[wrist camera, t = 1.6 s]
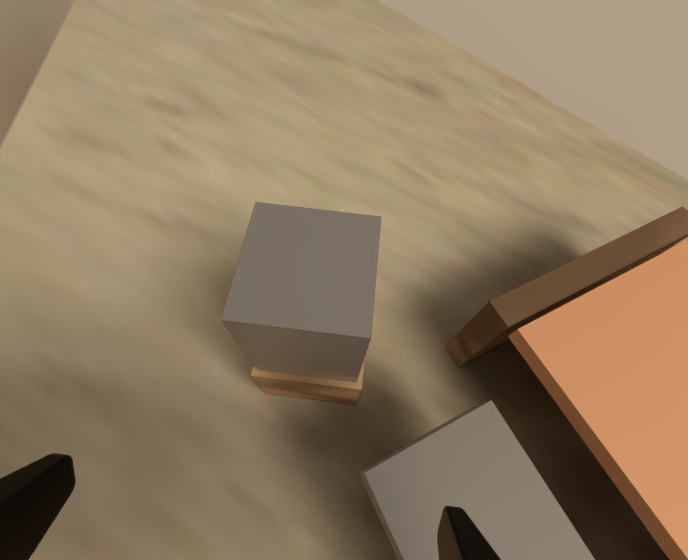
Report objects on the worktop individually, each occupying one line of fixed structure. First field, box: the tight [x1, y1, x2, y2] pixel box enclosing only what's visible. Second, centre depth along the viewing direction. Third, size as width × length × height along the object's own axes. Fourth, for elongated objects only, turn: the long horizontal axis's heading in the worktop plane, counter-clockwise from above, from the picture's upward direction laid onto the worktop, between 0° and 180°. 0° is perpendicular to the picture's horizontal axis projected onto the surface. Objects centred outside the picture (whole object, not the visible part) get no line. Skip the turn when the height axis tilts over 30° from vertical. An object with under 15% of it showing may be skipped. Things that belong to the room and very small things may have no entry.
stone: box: [221, 202, 381, 383], centre depth 16 cm, size 5×5×7 cm
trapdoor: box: [358, 240, 688, 560], centre depth 16 cm, size 14×23×3 cm, turn 116°
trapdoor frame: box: [446, 207, 688, 367], centre depth 19 cm, size 18×14×8 cm
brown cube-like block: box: [251, 358, 365, 405], centre depth 21 cm, size 6×6×5 cm
